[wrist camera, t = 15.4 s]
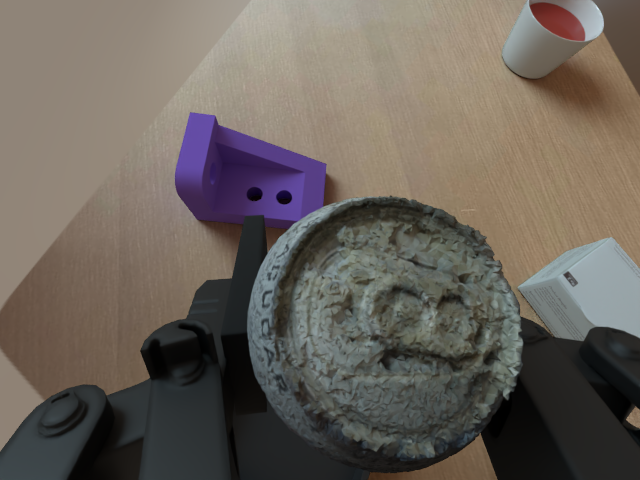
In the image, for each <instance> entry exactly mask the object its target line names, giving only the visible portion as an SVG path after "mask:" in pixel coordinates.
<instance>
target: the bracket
mask: <svg viewBox="0 0 640 480" xmlns="http://www.w3.org/2000/svg"><path fill="white" fill-rule="evenodd" d="M325 175H326V164H325V163H322V162H319V161H316V160H314V159H311V158H308V157H305V156H303V155H300V154H297V153H294V152H292V151H289V150H286V149H283V148H281V147H278V146H275V145H272V144H270V143H267V142H264V141H261V140H259V139H256V138H253V137H250V136H248V135H245V134H242V133H239V132H237V131H234V130H231V129H228V128H226V127H223V126H220V125H218V122H217V119H216V116H214V115H207V114H199V113H191V112H190V115H189V119H188V123H187V127H186V131H185V135H184V139H183V143H182V147H181V151H180V155H179V159H178V163H177V167H176V172H175V185H176V190H177V193H178V195H179V197H180V198H181V199H182V201H183V202H184V203H185V204H186V206H187V207H188V208H189V210H190V211H191V212H192V213H193V215H194V216H195V217H196V219H197V220H207V221H216V222H226V223H236V224H243V223H244V218H245V216H251V215H264V219H265V227H274V228H284V229H289V228H290V227H291V226H292V225H293V224H294V223H297V222H298V221H299V220H300V219H302V218H304V217H306V216H307V215H308V214H310V213H312V212H314V211H317V210H319V209H320V208H322V207H323V200H324V187H325ZM257 195H258V196H262V198H261V199H260V200H258V201H251V200H249V199H250V198H251V197H253V196H257ZM283 198H285V199H289V200H291V202H290V203H288V204H286V205H283V204H280V203H279V202H278V200H280V199H283Z"/></svg>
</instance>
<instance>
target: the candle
mask: <svg viewBox="0 0 640 480" xmlns="http://www.w3.org/2000/svg"><path fill="white" fill-rule="evenodd" d="M603 27H604V20H603V16H602V14H601V12H600V10H599V8H598V7H597V6H596V5H595V3H594V2H593V1H592V0H527V1H526V3H525V4H524V6H523V8H522V10H521V12H520V14H519V16H518V18H517V20H516V22H515V24H514V26H513V28H512V30H511V32H510V34H509V36H508V38H507V40H506V42H505V44H504V46H503V49H502V56H503V59H504V61H505V63H506V65H507V66H508V67H509V68H510V69H511V70H512V71H513V72H515V73H516V74H518V75H520V76H523V77H526V78H531V79H537V78H542V77H544V76H546V75H548V74H549V73H550V72H552V71H553V70H555V69H556V68H557V67H559V66H560V65H561V64H563V63H564V62H565V61H567V60H568V59H569V58H571V57H572V56H573V55H575V54H576V53H577V52H579V51H580V50H581V49H582V48H584V47H585V46H586V45H588V44H589V43H590V42H592V41H593V40H594V39H596V38H597V37H598V36H599V35H600V34H601V33H602V31H603Z"/></svg>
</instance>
